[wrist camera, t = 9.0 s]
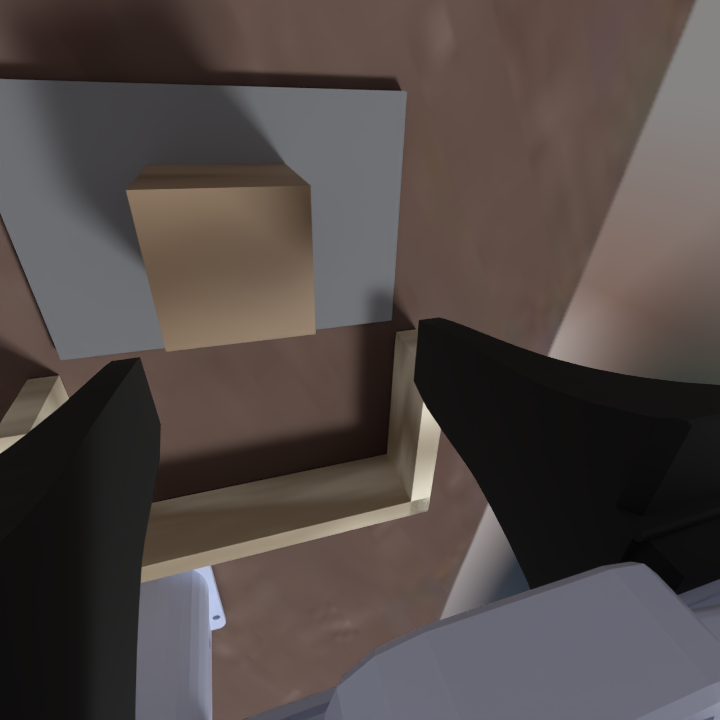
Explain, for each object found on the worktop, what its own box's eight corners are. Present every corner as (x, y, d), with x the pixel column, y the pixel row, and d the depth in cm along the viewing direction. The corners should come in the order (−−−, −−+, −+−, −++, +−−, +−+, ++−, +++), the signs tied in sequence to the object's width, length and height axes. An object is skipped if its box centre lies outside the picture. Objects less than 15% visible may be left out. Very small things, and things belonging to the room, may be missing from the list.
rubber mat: (388, 316, 22) (391, 320, 22) (64, 354, 18) (61, 360, 18) (402, 91, 17) (406, 91, 17) (-48, 77, 13) (-56, 77, 13)
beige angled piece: (402, 463, 29) (427, 510, 25) (98, 529, 24) (81, 597, 21) (416, 329, 23) (450, 367, 20) (27, 379, 18) (-11, 439, 15)
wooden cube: (292, 283, 19) (315, 333, 15) (175, 293, 18) (165, 351, 14) (285, 163, 17) (310, 185, 13) (147, 165, 15) (125, 190, 11)
